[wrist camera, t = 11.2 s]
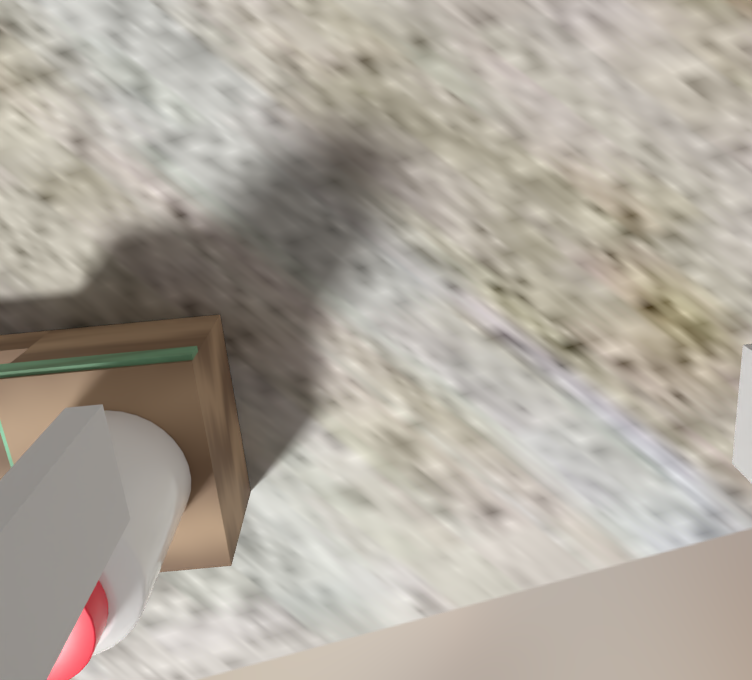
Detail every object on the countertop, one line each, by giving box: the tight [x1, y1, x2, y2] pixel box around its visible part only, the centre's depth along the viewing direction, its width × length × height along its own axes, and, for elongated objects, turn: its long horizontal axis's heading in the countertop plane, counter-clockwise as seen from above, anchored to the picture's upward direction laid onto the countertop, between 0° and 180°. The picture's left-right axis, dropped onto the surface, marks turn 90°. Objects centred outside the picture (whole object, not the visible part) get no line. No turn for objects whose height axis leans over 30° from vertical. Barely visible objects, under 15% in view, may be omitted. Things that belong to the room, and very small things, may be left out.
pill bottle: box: [47, 410, 191, 680], centre depth 31 cm, size 8×8×11 cm
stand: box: [0, 315, 251, 572], centre depth 40 cm, size 12×20×8 cm, turn 95°
